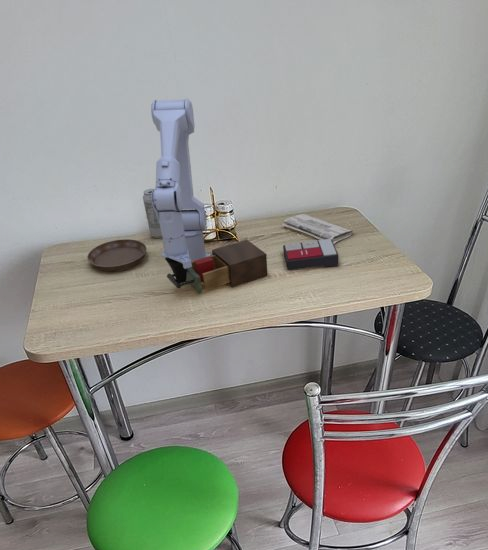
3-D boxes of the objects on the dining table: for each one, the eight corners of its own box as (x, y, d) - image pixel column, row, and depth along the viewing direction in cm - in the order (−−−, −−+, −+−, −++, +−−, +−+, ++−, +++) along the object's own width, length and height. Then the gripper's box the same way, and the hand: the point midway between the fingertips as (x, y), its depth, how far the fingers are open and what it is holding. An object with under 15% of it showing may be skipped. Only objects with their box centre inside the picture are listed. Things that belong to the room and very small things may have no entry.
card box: (199, 282, 133) (196, 264, 130) (196, 279, 135) (193, 261, 131) (215, 277, 135) (213, 259, 132) (211, 274, 136) (209, 256, 133)
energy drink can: (171, 232, 165) (163, 188, 156) (164, 239, 161) (156, 195, 152) (155, 231, 167) (146, 187, 157) (147, 238, 162) (138, 194, 153)
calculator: (282, 242, 147) (331, 236, 147) (283, 255, 150) (331, 249, 150) (286, 259, 138) (338, 252, 138) (287, 272, 141) (338, 266, 141)
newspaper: (279, 227, 165) (279, 219, 164) (304, 220, 172) (305, 213, 171) (329, 246, 151) (330, 238, 150) (354, 237, 158) (355, 230, 157)
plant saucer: (130, 277, 141) (128, 268, 139) (78, 271, 145) (75, 262, 143) (158, 250, 154) (156, 241, 152) (109, 245, 158) (106, 237, 157)
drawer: (180, 300, 128) (177, 283, 125) (166, 284, 135) (163, 267, 132) (232, 283, 134) (231, 266, 131) (216, 269, 141) (214, 252, 138)
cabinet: (232, 287, 134) (230, 265, 130) (214, 271, 142) (211, 249, 138) (267, 275, 138) (266, 253, 134) (248, 260, 146) (246, 239, 142)
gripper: (148, 228, 126) (158, 274, 135) (169, 249, 116) (178, 297, 125) (173, 222, 129) (181, 267, 137) (196, 241, 119) (203, 289, 127)
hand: (181, 281), depth 131 cm, fingers closed
